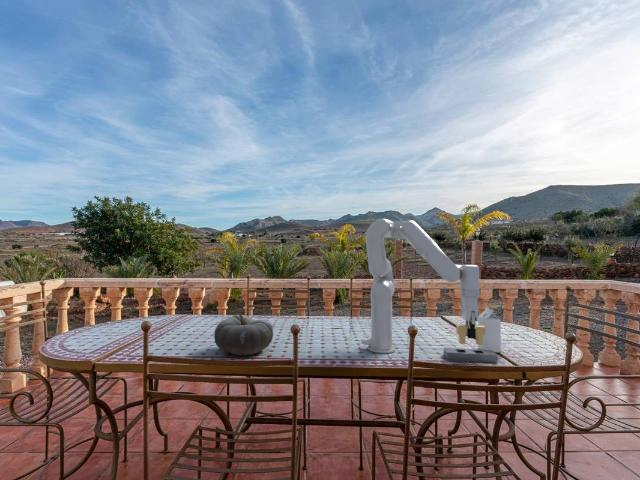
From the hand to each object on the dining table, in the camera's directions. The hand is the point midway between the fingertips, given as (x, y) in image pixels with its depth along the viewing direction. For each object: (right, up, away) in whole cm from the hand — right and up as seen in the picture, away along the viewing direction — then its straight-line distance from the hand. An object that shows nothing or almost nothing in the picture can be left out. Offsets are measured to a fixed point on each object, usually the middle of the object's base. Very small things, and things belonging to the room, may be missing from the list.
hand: (470, 336), depth 157 cm
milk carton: (+14, -10, +13) cm, 21 cm away
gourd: (-98, -9, +7) cm, 98 cm away
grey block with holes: (0, -9, 0) cm, 9 cm away
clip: (0, -3, 0) cm, 3 cm away
